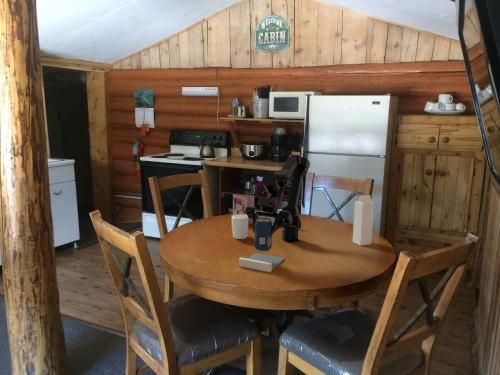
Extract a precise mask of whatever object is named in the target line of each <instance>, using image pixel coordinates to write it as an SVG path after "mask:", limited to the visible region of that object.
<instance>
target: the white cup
mask: <svg viewBox="0 0 500 375" xmlns="http://www.w3.org/2000/svg"><path fill="white" fill-rule="evenodd" d="M231 230H232V238H233V239H236V240H244V239H247V237H248V230H249V223H248V216H247V215H243V214H236V215H233V214H232V215H231Z"/></svg>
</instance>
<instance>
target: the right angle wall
mask: <svg viewBox="0 0 500 375" xmlns="http://www.w3.org/2000/svg"><path fill="white" fill-rule="evenodd" d="M281 210H282V208H278V211H277V213H279V212H280V211H281ZM262 217H264V218H270V219H271V222H272V224H273V223H274V220H275V218H272V217H265V216H259V218H262ZM272 226H273V225H272Z"/></svg>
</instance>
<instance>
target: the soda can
mask: <svg viewBox="0 0 500 375" xmlns="http://www.w3.org/2000/svg"><path fill="white" fill-rule="evenodd" d="M272 225H273V224H272V222H271V219H270V218H264V217H262V218H260V217H258V218H257V219H256V222H255V233H253V234H254V236H253V237H254V238H253V246H254V248H255V250H256V251H259V252H267V251H268V252H269V251H270V250H271V248H272V246H273V234H272V235H270V232H271V229H272Z"/></svg>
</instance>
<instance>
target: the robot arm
mask: <svg viewBox="0 0 500 375" xmlns="http://www.w3.org/2000/svg"><path fill="white" fill-rule="evenodd" d="M310 165H311V161H310V160H309V159H308V158H307V157H303V156H302V155H300V154H289V155H288V157H287V160H286V161H285V163H284V164H283V166H282V167H281V168H280V169H279V170H276V171H274V172H273V171H272V172H271V171H269V172H268V174H265V175H264V176H263V177H262V179H261V184H263V187H264V189H265V191H266V193H267V196H266V197H263V196H260V197H259V200H258V205H257V206H260V209H261V210H258V209H257V207H256V206H254V207H251V206H248V207H246V209H245V213H246V214H247V216H248V218H250V219H253V224H252V233H253V234H255V222H256V219H257V218H260V216H265V217H272V218H275V220H274V223H273V226H272V229H271V232H270V235H272V236H273V234H275V233H276V231H277V230H279V229H280V228H282V230H281V231H282V232H281V239H282V240H283V241H285V242H286V243H291V242H292V243H293V242H300V241H301V240H300V238H299V229H302V225H303V224H302V223H303V222H302V220H301V217H300V212H299V209H298V206H299V205H298V204H299V201H300V200H299V199H300V194H301V189H302V183H303V179H304V177H305V176H306V175H307V174H308V171H309V169H310V167H311V166H310ZM291 175H292V178H291ZM289 185H290V188H289V194H288V199H287V203H286V205H285V206H283V207H282V208H280V207H281V204H280V203H281V202H282V198H284V197H285V194H284V190H283V189H287V188H288V187H289ZM279 209H281V211H280V212H279V213H277V211H278V210H279Z"/></svg>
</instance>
